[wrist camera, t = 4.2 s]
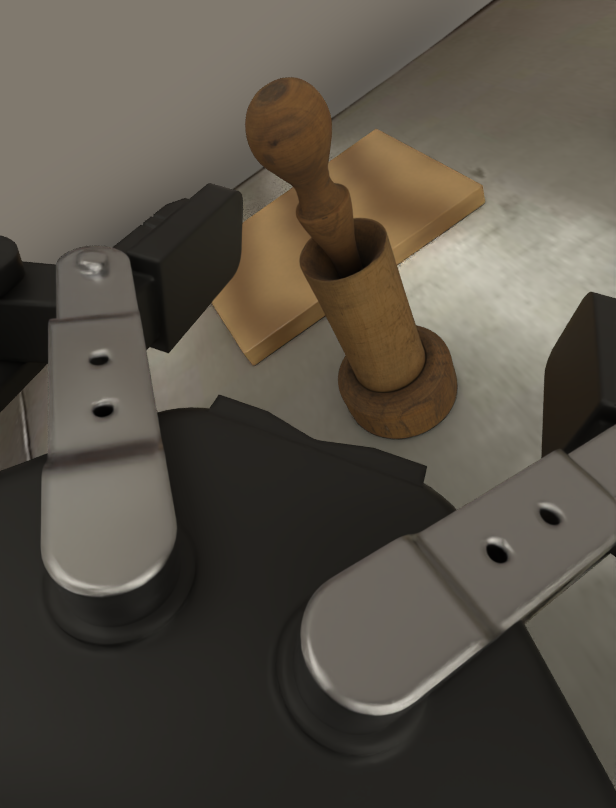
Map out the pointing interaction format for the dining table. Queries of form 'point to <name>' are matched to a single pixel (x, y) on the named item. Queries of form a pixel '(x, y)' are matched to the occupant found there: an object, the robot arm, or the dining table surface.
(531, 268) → the dining table surface
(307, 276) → the mortar and pestle
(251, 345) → the cutting board
